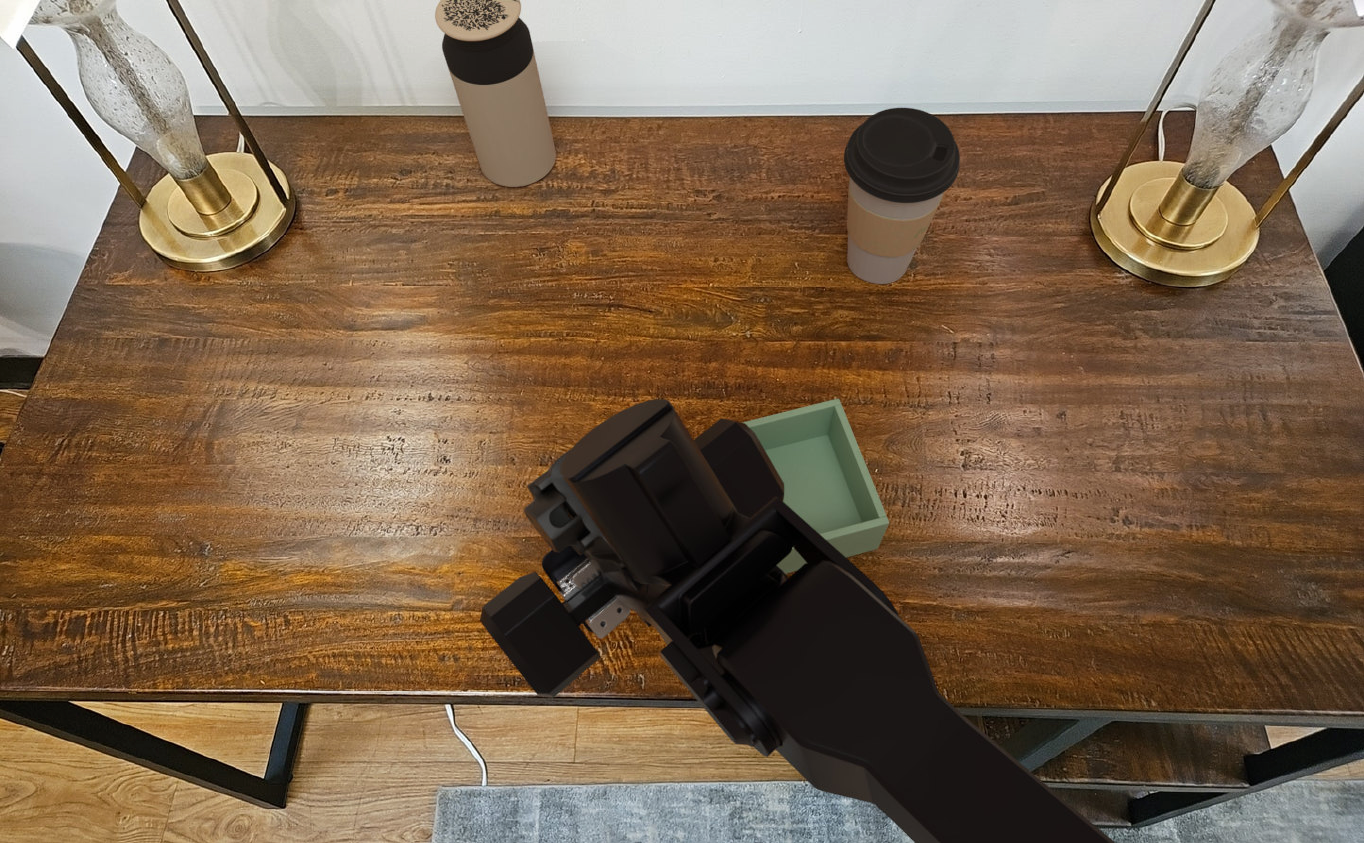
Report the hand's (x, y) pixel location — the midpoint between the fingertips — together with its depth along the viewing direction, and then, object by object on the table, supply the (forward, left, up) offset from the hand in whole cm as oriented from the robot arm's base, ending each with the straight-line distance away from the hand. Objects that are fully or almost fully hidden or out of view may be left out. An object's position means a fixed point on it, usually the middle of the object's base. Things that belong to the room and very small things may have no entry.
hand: (591, 520), depth 59 cm
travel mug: (+46, -13, -14) cm, 49 cm away
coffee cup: (+16, -37, -14) cm, 42 cm away
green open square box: (-1, -16, -13) cm, 21 cm away
